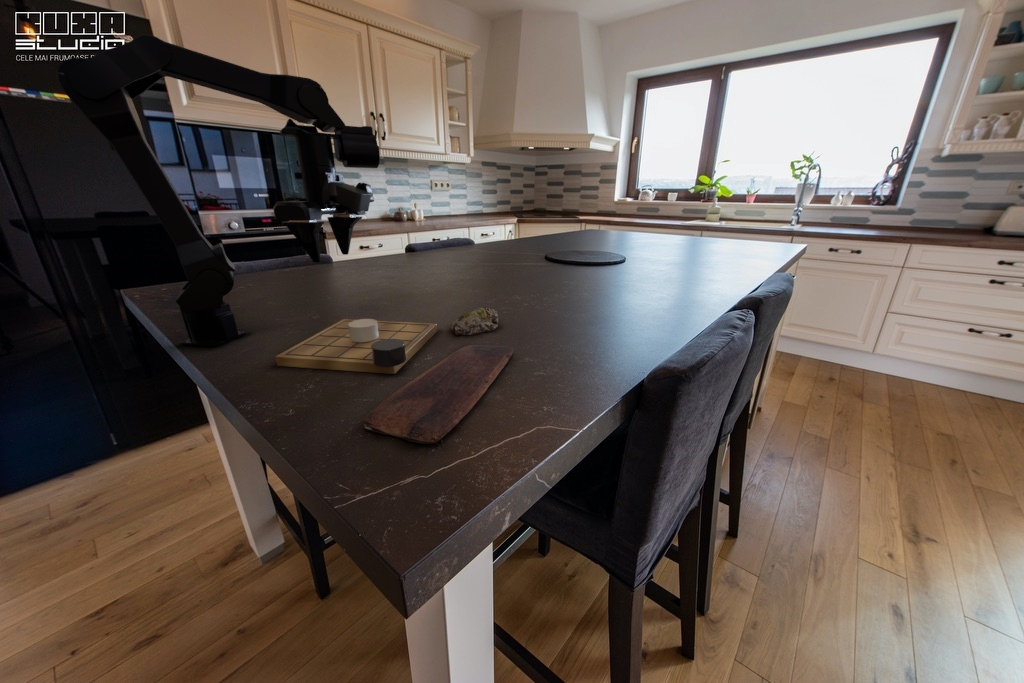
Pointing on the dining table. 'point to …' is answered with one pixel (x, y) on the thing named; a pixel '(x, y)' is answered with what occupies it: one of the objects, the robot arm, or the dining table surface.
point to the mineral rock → (476, 322)
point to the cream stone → (363, 330)
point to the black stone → (388, 352)
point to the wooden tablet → (439, 395)
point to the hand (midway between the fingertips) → (332, 258)
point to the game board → (354, 347)
